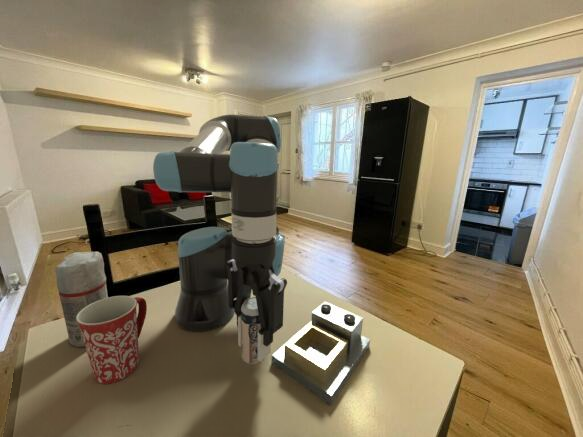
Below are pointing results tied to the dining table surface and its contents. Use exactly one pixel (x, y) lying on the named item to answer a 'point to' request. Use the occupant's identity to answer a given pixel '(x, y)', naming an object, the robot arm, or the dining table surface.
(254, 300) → the beer can
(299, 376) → the grey socket fixture
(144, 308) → the mug
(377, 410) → the dining table surface
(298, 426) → the dining table surface
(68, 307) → the spray can
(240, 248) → the robot arm
